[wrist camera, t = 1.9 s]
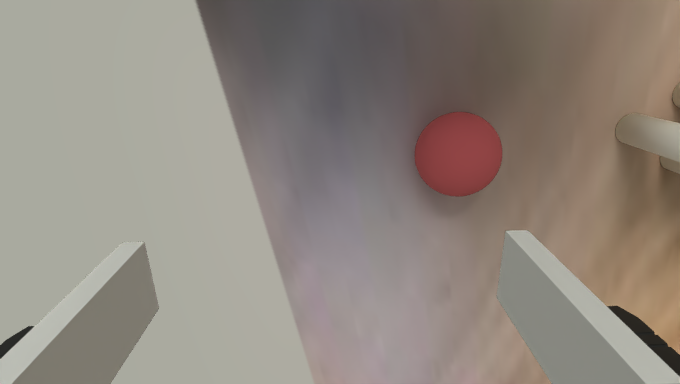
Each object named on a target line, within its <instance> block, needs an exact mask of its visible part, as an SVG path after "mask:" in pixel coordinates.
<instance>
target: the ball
mask: <svg viewBox="0 0 680 384" xmlns="http://www.w3.org/2000/svg"><path fill="white" fill-rule="evenodd" d="M501 161H502V146H501V141H500V138H499V136H498V134H497V132H496V131H495V129H494V128H493V127H492V126H491V125H490V124H489V123H488V122H487V121H486V120H484V119H483V118H481V117H479V116H477V115H474V114H471V113H467V112H453V113H448V114H445V115H442V116H440V117H438V118H436V119H435V120H433V121H432V122H431V123H429V124H428V125H427V126H426V127H425V129H424V130H423V131H422V133H421V134H420V136H419V138H418V140H417V144H416V148H415V163H416V167H417V170H418V172H419V174H420V176H421V178H422V179H423V180H424V181H425V183H426V184H427V185H429V186H430V187H431V188H432V189H434V190H436V191H437V192H439V193H442V194H445V195H449V196H466V195H470V194H473V193H475V192H478V191H480V190H481V189H483V188H484V187H486V186H487V185H488V184H489V183H490V182H491V181H492V180H493V179H494V177H495V176H496V174H497V172H498V170H499V168H500V165H501Z"/></svg>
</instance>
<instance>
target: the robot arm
mask: <svg viewBox="0 0 680 384" xmlns="http://www.w3.org/2000/svg"><path fill="white" fill-rule="evenodd" d="M497 299H498V301H499V302H500V304H501V305H502V307H503V308H504V310H505V312H506V313H507V315H508V316H509V318H510V319H511V321H512V322H513V324H514V326H515V327H516V329H517V330H518V332H519V333H520V335H521V336H522V338H523V339H524V341H525V343H526V344H527V346H528V347H529V349H530V350H531V352H532V353H533V355H534V357H535V358H536V360H537V361H538V363H539V364H540V366H541V367H542V369H543V371H544V372H545V374H546V375H547V377H548V378H549V380H550V381H551V383H552V384H680V355H679V354H678V353H677V352H676V351H675V350H674V349H672V348H671V347H668V345H667V343H666V342H665V341H664V340H663V339H661V338H660V337H659V336H658V335H655V334H654V331H653V330H651V329H650V328H649V327H648V326H647V325H646V324H645V323H644V322H643V321H641V320H640V319H639V318H638V317H636V316H634V315H633V314H631V313H629V312H627V311H626V310H624V309H622V308H620V307H618V306H606V305H605V304H604V303H603V302H602V301H601V300H600V299H598V298H597V297H596V296H595V295H594V294H593V293H592V292H591V291H590V290H589V289H588V288H587V287H586V286H585V285H584V284H583V283H582V282H581V281H580V280H579V279H578V278H577V277H576V276H575V275H574V274H573V273H572V272H570V271H569V270H568V269H567V268H566V267H565V266H564V265H563V264H562V263H561V262H560V261H559V260H558V259H557V258H556V257H555V256H554V255H553V254H552V253H551V252H550V251H549V250H548V249H547V248H546V247H545V246H544V245H542V244H541V243H540V242H539V241H538V240H537V239H536V238H535V237H534V236H533V235H532V234H531V233H530V232H529V231H528V230H513V231H505V239H504V246H503V253H502V261H501V268H500V276H499V283H498V290H497ZM158 309H159V306H158V301H157V297H156V292H155V287H154V283H153V279H152V274H151V269H150V265H149V261H148V256H147V251H146V248H145V243H144V242H123V243H121V244H120V245H119V246H118V247H117V248H116V249H115V250H114V251H113V252H112V253H111V254H110V255H108V256H107V257H106V258H105V259H104V260H103V261H102V262H101V263H100V264H99V265H98V266H97V267H96V268H95V269H94V270H93V271H92V272H91V273H90V274H89V275H88V276H87V277H86V278H84V280H82V282H80V283H79V284H78V285H77V286H76V287H75V288H74V289H73V290H72V291H71V292H70V293H69V294H68V295H67V296H66V297H65V298H64V299H63V300H62V301H60V303H59V304H57V305H56V306H55V307H54V308H53V309H52V310H51V311H50V312H49V313H48V314H47V315H46V316H45V317H44V318H43V319H42V320H41V321H40V322H39V323H38V324H36V326H28V327H27V328H25V329H23V330H22V331H20V332H19V333H17V334H15V335H13V336H12V337H10V338H9V339H7V340H6V341H5V342H3V343H2V345H0V384H111V382H112V380H113V379H114V377H115V376H116V374H117V373H118V371H119V370H120V368H121V366H122V365H123V363H124V362H125V360H126V359H127V357H128V356H129V354H130V353H131V351H132V350H133V348H134V346H135V345H136V343H137V342H138V340H139V339H140V337H141V335H142V334H143V332H144V331H145V329H146V328H147V326H148V325H149V323H150V322H151V320H152V318H153V317H154V316H155V314H156V312H157V311H158Z"/></svg>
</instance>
